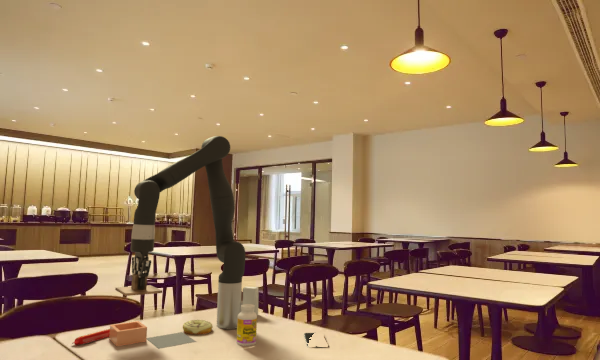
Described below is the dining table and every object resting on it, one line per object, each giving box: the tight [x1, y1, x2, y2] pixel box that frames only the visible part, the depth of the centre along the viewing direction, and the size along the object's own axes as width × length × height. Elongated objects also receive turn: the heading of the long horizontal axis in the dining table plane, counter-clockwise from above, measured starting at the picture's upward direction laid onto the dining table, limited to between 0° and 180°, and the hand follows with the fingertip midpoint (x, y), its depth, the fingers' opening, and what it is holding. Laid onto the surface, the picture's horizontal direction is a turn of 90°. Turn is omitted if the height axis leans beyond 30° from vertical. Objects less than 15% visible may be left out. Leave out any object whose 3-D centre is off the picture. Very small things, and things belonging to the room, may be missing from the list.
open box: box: [108, 320, 148, 347], centre depth 136 cm, size 10×10×5 cm
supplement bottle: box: [236, 304, 258, 347], centre depth 137 cm, size 7×7×13 cm
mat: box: [146, 331, 197, 350], centre depth 137 cm, size 13×13×1 cm
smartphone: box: [303, 332, 315, 347], centre depth 141 cm, size 7×1×15 cm
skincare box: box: [242, 285, 259, 316], centre depth 175 cm, size 6×4×12 cm
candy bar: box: [72, 328, 110, 346], centre depth 137 cm, size 16×4×3 cm, turn 151°
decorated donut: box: [182, 319, 214, 335], centre depth 149 cm, size 10×11×4 cm
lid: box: [114, 273, 163, 297], centre depth 137 cm, size 12×12×6 cm
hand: (138, 287), depth 137 cm, fingers closed on lid, 3 cm apart
